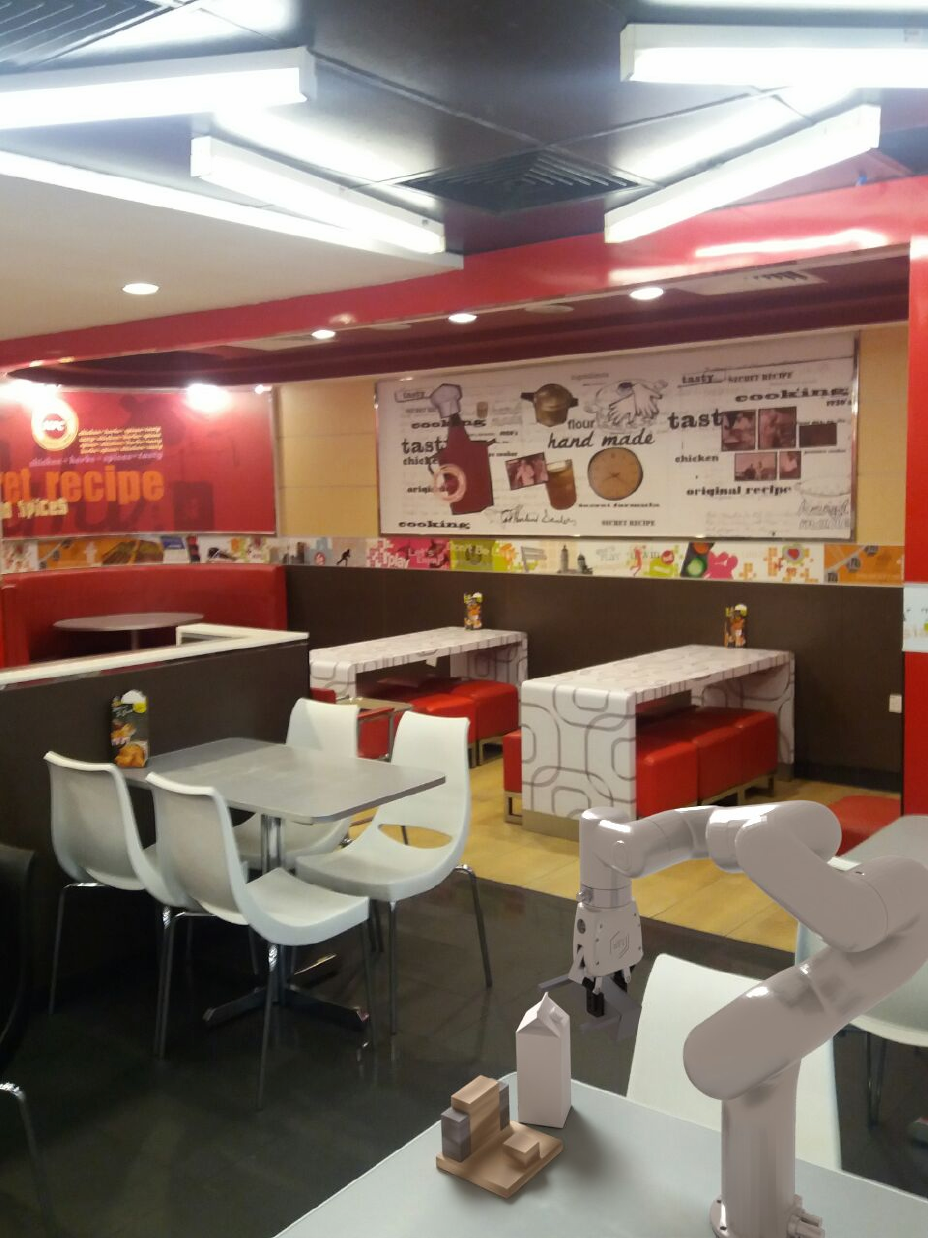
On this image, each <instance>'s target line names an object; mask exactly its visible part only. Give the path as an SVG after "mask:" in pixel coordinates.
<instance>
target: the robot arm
mask: <svg viewBox="0 0 928 1238" xmlns="http://www.w3.org/2000/svg"><path fill="white" fill-rule="evenodd" d="M578 820H579V821H578V823H579V824H578V831H579V833H578V835H579V838H578V839H579V843H578V844H579V846H578V847H579V892H577V893H576V894H575V897H576V901H577V902H578V903H577V908H576V914H575V916H574V917H575V919H574V926H573V941H572V942H573V944H572V945H573V946H572V947H573V948H572V949H573V951H572V953H573V955H572V957H573V964H572V965H571V968H570V970H569V972H568V973H569V975H568V978H569V979H571V980H573V981H575V982H577V983H579V984H581V985H582V986H583V988H585V989H586V1006H587V1012H588V1013H589V1014H591V1015H593V1016H595V1017H596V1018H599V1017H601V1016H604V994H603V993H602V992H600V991H601V984H602V977H603V976H606V975H607V976H609V975H610V974H612V976H609V977H610V978H611V979H612V981H613V982H614V983H616V984H617V985H618V986H619V987H620V988H621V989H622V990H624V991H625V992H626V993H628V983H630V982H631V980H632V975H631V974H632V973H633V971H634V969H635V967H636V964H638V963H639V962H640V961H641V960H642V958H643V956H644V951H643V941H642V940H643V938H642V926H641V918H640V912H639V907H638V904H637V900H636V897H634V896H632V894H633V892H632V887H633V886H632V880H634V879H635V880H639V879H643V878H646V877H648V876H651V875H653V874H657V873H659V872H661V871H663V870H665V869H668V868H670V867H673V866H675V865H678V864H681V863H683V862H687V861H693V860H704V859H710V860H711V861H712V862H713V863H714V865H715V866H716V867H717V868H718V869H720V870H721V871H722V872H725V873H727V874H744V875H746V877H747V878H748V879H749V880H750V881H751V882H752V883H753V884H754V885H755V887H757V888H758V889H759V890H760V891H761V892H762V893H764V894H765V895H766V896H767V897H768V898H770V900H772V901H773V902H774V903H775V904H777V905H778V906H779V907H780V908H781V909H782V910H784V911H785V912H786V913H787V914H789V915H790V916H791V917H792V918H793V919H795V920H796V921H797V922H798V923H799V924H801V925H802V926H803V927H804V928H805V929H806V930H808V931H809V932H810V933H811V934H812V935H813V936H815V937H816V938H817V939H819V940H820V941H822V942H823V943H825V944H827V945H826V946H825V947H823V948H822V949H820V950H819V951H817V952H816V953H814V954H813V955H812V956H809V957H808V958H806V959H805V960H804V961H801V962H800V963H797V964H795V965H793V966H790V967H788V968H785V969H783V970H781V971H779V972H777V973H776V974H774V975H771V976H770V977H768V978H765V980H763V981H761V982H759V983H758V984H756V985H754V986H753V987H750V988H749V989H748V990H746V991H745V992H743V993H741V994H740V995H738V996H737V997H736V998H734V999H732V1001H730V1002H728V1003H727V1004H726V1005H724V1006H723V1007H721V1008H720V1009H718V1010H717V1011H715V1012H714V1013H713V1014H711V1015H710V1016H709V1017H706V1018H705V1019H704V1020H703V1021H702V1022H700V1023H698V1024H697V1025H696V1026H694V1027H693V1028H692V1029H691V1030H690V1031H689V1033H688V1034H687V1036H686V1039H685V1041H684V1044H683V1049H682V1063H683V1067H684V1071H685V1074H686V1076H687V1078H688V1080H689V1081H690V1082H691V1084H692V1085H693V1087H695V1089H697V1090H698V1091H699V1092H700V1093H702V1094H703V1095H705V1096H707V1097H709V1098H711V1099H714V1100H719V1101H721V1107H720V1108H721V1110H720V1111H721V1112H720V1114H721V1115H720V1116H721V1117H720V1118H721V1119H720V1120H721V1121H720V1122H721V1123H720V1124H721V1126H720V1127H721V1129H720V1131H721V1132H720V1134H721V1139H720V1140H721V1143H720V1145H721V1146H720V1147H721V1154H720V1155H721V1160H720V1161H721V1163H720V1164H721V1169H720V1171H721V1173H720V1174H721V1175H720V1176H721V1180H720V1181H721V1190H720V1192H721V1194H720V1195H718V1196H717V1197H716V1198H715V1199H714V1201H713V1202H712V1203H711V1206H710V1208H709V1223H710V1226H711V1229H712V1230H713V1231H714V1233H715V1235H716V1236H717V1237H718V1238H826V1231H825V1229H824V1228H822V1227H823V1217H820V1216H818V1215H815V1214H811V1213H810V1212H809V1213H808V1212H807V1211H806V1209H804V1208H803V1196H801V1195H799V1194H796V1130H797V1129H796V1123H797V1091H798V1082H799V1075H800V1070H801V1066H802V1065H801V1064H802V1059H804V1058H805V1057H806V1056H808V1055H809V1054H811V1053H812V1052H814V1051H816V1050H817V1049H818V1048H820V1047H821V1046H823V1045H824V1044H826V1043H828V1041H830V1040H831V1039H832V1038H833V1037H834V1036H835V1035H836V1034H837V1033H839V1032H840V1031H841V1030H842V1029H843V1028H845V1026H847V1025H848V1024H850V1023H851V1022H852V1021H854V1020H856V1019H857V1018H859V1017H860V1016H862V1015H863V1014H865V1013H867V1012H868V1011H870V1010H871V1009H872V1008H874V1007H876V1005H878V1004H879V1003H881V1002H883V1001H884V1000H885V999H887V998H889V997H890V996H892V995H893V994H894V993H896V992H897V991H898V990H900V989H901V988H902V987H903V986H905V985H906V984H907V983H909V982H910V981H911V980H912V979H913V978H914V977H915V976H916V974H918V972H919V971H920V970H921V969H922V968H923V966H924V965H925V964H926V962H927V961H928V869H927V867H926V866H925V865H924V864H922V863H921V862H920V861H918V860H916V859H914V858H912V857H909V856H904V855H900V854H899V855H898V854H889V855H880V856H877V857H874V858H873V857H872V858H871V859H868V860H866V861H863V862H861V863H859V864H857V865H855V866H853V867H850V868H849V869H847V870H845V871H843V872H840V871H838V870H837V869H835V868H834V867H833V866H832V865H831V864H829V862H830V861H831V860H832V859H833V858H834V857H835V856H836V854H838V851H839V848H840V847H841V844H842V838H843V837H842V836H843V835H842V834H843V833H842V828H841V823H840V821H839V818H838V817H837V816H836V814H835V813H834V812H833V811H832V810H831V809H830V808H829V807H828V806H826V805H825V804H822V803H820V802H817V801H813V800H805V799H796V800H786V801H785V800H784V801H775V802H767V803H766V802H765V803H760V804H748V805H738V806H737V805H736V806H718V805H700V806H699V805H698V806H692V807H681V808H675V809H669V810H664V811H661V812H659V813H658V812H657V813H655V814H652V815H650V816H646V817H644V818H642V819H641V818H640V819H638V820H633V821H631V820H632V819H631V818H630V815H629V814H628V813H627V812H626V811H625V810H623V809H621V808H620V807H619V808H618V807H614V806H596V807H595V806H594V807H591V808H588V809H585V810H584V811H583V812H582V813H581V815H580V817H579V819H578ZM583 970H584V975H582V972H583ZM592 976H593V977H594V980H593V981H591V978H592Z"/></svg>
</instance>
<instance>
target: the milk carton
mask: <svg viewBox="0 0 928 1238" xmlns="http://www.w3.org/2000/svg"><path fill="white" fill-rule="evenodd" d="M570 1019H571V1018H570V1015H569V1014H568V1013H567V1012H565V1010H564V1009H562V1008H561V1007H560V1006H559V1005H558V1004H557V1003H556V1002H555V1001H554V1000H553V999H551V998H550V997H549V991H548V992H545V993H544V995H543V997H542V999H541V1000H540V1001H539V1002H538V1003H537V1004H535V1005H533V1006H532V1007H531V1008H529V1009H528V1010H527V1011H526V1012H525V1014H524V1016H523V1018H522V1020H521V1021H520V1024H519V1026H518V1028H517V1030H516V1031H515V1049H516V1050H515V1052H516V1055H515V1056H516V1080H517V1081H516V1082H517V1083H516V1084H517V1085H516V1087H517V1088H516V1089H517V1090H516V1091H517V1092H516V1093H517V1120H518V1122H517V1123H521V1124H522V1123H524V1124H530V1125H537V1126H544V1127H550V1128H558V1129H563V1128H564V1126H565V1122H566V1120H567V1117H568V1115H569V1112H570V1109H571V1107H572V1070H571V1069H572V1067H571V1065H572V1064H571V1029H570V1028H571V1022H570Z"/></svg>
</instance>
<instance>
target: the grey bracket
mask: <svg viewBox="0 0 928 1238" xmlns="http://www.w3.org/2000/svg"><path fill="white" fill-rule="evenodd" d="M568 975H569V972H568V973H566V974H563V975H560V976H558V977H554V978H552V979H549V980H546V981H544V982H541V983H538V984H537V987H536V991H537V992H538V993H539V994H540V995H542V994H545V993H546V992H548V993H549V992H550V991H553V990H556V989H558V988H562V987H563V986H567V985H569V984H570V985H569V990H568V995H567V998H568V999H569V1000H570V1001H572V1003H574V1004H575V1005H576V1006H577V1007H578V1008H579V1009H580V1010H581V1011H582V1012H583V1013H584V1014H585V1015H586V1016H587V1017H588V1018H589V1019H590V1020H589V1021H587V1022H585V1023H582V1024H579V1026H578V1032H579V1033H580V1034H581V1035H582V1036H584V1035H587V1034H590V1033H593V1032H594V1031H597V1030H599V1029H601V1030H602V1031H603V1032H604V1033H605V1034H606V1035H607V1036H608V1037H609V1038H610V1039H611V1040H612V1041H614V1042H615V1043H619V1042H622V1041H623V1040H626V1039H628V1038H630V1037H633V1036H636V1035H637V1032H638V1027H639V1022H640V1018H641V1014H642V1009H643V1006H642V1005H641V1004H640V1003H639V1002H638V1001H636V999H634V998H633V997H632V996H631V995H630V994H629V993H628V992H627V993H626V992H625V991H624V990H622V989H621V988H620V987H619V986H618V985H617V984H616V983H614V982H613V981H612V979H611V978H610V977H611V976H609V975H606V976H603V977H602V984H601V991H600V992H602V993H603V994H604V1016H601V1017H599V1018H596V1017H595V1016H593V1015H591V1014H589V1013H588V1012H587V1006H586V989H585V988H583V986H582V985H581V984H579V983H577V982H575V981H573V980H571V979H569V978H568ZM582 975H584V970H583V972H582ZM593 980H594V977H593V976H592V978H591V981H593Z"/></svg>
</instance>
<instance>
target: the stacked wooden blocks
mask: <svg viewBox="0 0 928 1238" xmlns="http://www.w3.org/2000/svg"><path fill="white" fill-rule="evenodd" d="M450 1103H451V1104H450V1105H451V1106H450V1107H448V1108H447V1109H446V1110H445V1111H443V1112H442V1113H440V1129H441V1130H440V1131H441V1152H440V1153H438V1154H437V1155H436V1156H435V1166H436V1167H437V1168H439V1169H441V1170H444V1171H447V1172H448V1173H451V1174H453V1175H455V1176H457V1177H459V1178H461V1179H464V1180H465V1181H467V1182H470V1183H472V1184H474V1185H476V1186H479V1187H481V1188H483V1189H485V1190H488V1191H489V1192H491V1193H494V1194H496V1195H498V1196H501V1197H503V1198H505V1199H506V1200H508V1199H509V1198H510V1197H512V1195H514V1194H515V1193H516V1192H518V1190H520V1188H521V1187H523V1186H524V1185H525V1184H526V1183H527V1182H528V1181H530V1179H532V1178H533V1177H534V1176H535V1175H536V1174H538V1173H539V1172H540V1171H541V1170H542V1169H544V1167H545V1166H546V1165H548V1163H549V1162H551V1161H552V1160H553V1159H555V1158H556V1156H557V1155H559V1154H560V1153H561V1152H562V1151H563V1140H561V1139H559V1138H556V1137H554V1136H551V1135H549V1134H546V1133H544V1132H541V1131H539V1130H537V1129H534V1128H532V1127H529V1126H527V1125H524V1124H522V1123H521V1122H517V1121H514V1120H512V1119H511V1115H510V1111H511V1110H510V1085H509V1084H508V1083H505V1082H503V1081H500V1080H498V1079H495V1078H492V1077H490V1078H489V1077H487V1076H484V1075H482V1074H480V1075H478V1076H477V1077H476V1078H474V1079H473V1080H472V1081H470V1082H469V1083H468V1084H466V1085H465V1086H463V1087H462V1088H461V1089H459V1090H458V1091H456V1092H455V1093H454V1094H452V1095H451V1096H450Z"/></svg>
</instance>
